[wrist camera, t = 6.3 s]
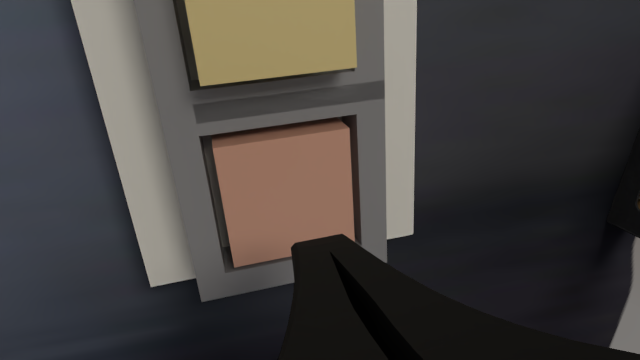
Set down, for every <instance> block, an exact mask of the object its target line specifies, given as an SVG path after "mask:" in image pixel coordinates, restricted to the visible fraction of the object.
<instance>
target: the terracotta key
mask: <svg viewBox="0 0 640 360" xmlns="http://www.w3.org/2000/svg"><path fill="white" fill-rule="evenodd" d="M211 136H212V147H213V153H214V159H215V164H216V170H217V175H218V181H219V186H220V192H221V198H222V203H223V209H224V214H225V220H226V225H227V231H228V236H229V242H230V247H231V253H232V258H233V264H234V268H235V267H240V266H245V265H250V264H255V263H260V262H265V261H270V260H275V259H280V258H285V257H290V256H292V255H291V247H292V246H293V244H294V243H297V242H302V241H307V240H312V239H317V238H322V237H327V236H332V235H338V234H344V235H345V236H347V237H348V238H350V239H351V240H353V241H354V242H355V235H354V214H353V193H352V171H351V150H350V129H349V127H348V126H346V125H345V124H344V123H343V122H342V121H341V120H340V119H339V118H338V117H333V118H326V119H319V120H312V121H305V122H298V123H291V124H284V125H276V126H269V127H262V128H255V129H248V130H241V131H234V132H227V133H220V134H213V135H211Z"/></svg>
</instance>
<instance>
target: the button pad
mask: <svg viewBox="0 0 640 360" xmlns="http://www.w3.org/2000/svg"><path fill="white" fill-rule="evenodd" d="M71 3H72V7H73V10H74V14H75V17H76V21H77V24H78V28H79V32H80V35H81V39H82V42H83V46H84V50H85V53H86V57H87V60H88V64H89V67H90V71H91V75H92V78H93V82H94V85H95V89H96V93H97V96H98V100H99V103H100V107H101V110H102V114H103V118H104V121H105V125H106V128H107V132H108V136H109V139H110V143H111V146H112V150H113V153H114V157H115V161H116V164H117V168H118V171H119V175H120V179H121V182H122V186H123V189H124V193H125V196H126V200H127V204H128V207H129V211H130V214H131V218H132V222H133V225H134V229H135V232H136V236H137V239H138V243H139V247H140V250H141V254H142V257H143V261H144V264H145V268H146V272H147V275H148V279H149V282H150V286H151V287H154V286H159V285H164V284H169V283H174V282H179V281H184V280H189V279H194V278H196V280H197V284H198V288H199V293H200V297H201V302H204V301H209V300H214V299H219V298H223V297H228V296H233V295H237V294H242V293H247V292H251V291H256V290H261V289H265V288H270V287H275V286H280V285H284V284H289V283H294V272H293V263H292V256H290V257H285V258H280V259H275V260H270V261H265V262H260V263H255V264H250V265H245V266H240V267H235V268H234V264H233V258H232V253H231V247H230V242H229V236H228V231H227V225H226V220H225V214H224V209H223V203H222V198H221V192H220V186H219V181H218V175H217V170H216V164H215V159H214V153H213V147H212V136H211V135H213V134H220V133H227V132H234V131H241V130H248V129H255V128H262V127H269V126H276V125H284V124H291V123H298V122H305V121H312V120H319V119H326V118H333V117H338V118H339V119H340V120H341V121H342V122H343V123H344V124H345V125H346V126H348V127H349V129H350V150H351V171H352V193H353V214H354V235H355V243H357V244H358V245H360V246H361V247H363V248H364V249H366V250H367V251H368V252H370V253H371V254H373V255H374V256H376V257H377V258H379V259H380V260H382V261H383V262H385V263H387V239H392V238H397V237H402V236H406V235H411V234H413V220H414V155H415V89H416V24H417V0H355V27H356V53H357V68H349V69H341V70H332V71H324V72H315V73H307V74H299V75H290V76H282V77H274V78H265V79H257V80H249V81H240V82H232V83H224V84H215V85H207V86H200V82H199V77H198V71H197V66H196V60H195V55H194V49H193V44H192V38H191V33H190V27H189V22H188V16H187V11H186V5H185V0H71Z"/></svg>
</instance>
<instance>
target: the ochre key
mask: <svg viewBox="0 0 640 360" xmlns="http://www.w3.org/2000/svg"><path fill="white" fill-rule="evenodd" d="M185 5H186V11H187V16H188V22H189V27H190V33H191V38H192V44H193V49H194V55H195V60H196V66H197V71H198V77H199V82H200V86H207V85H215V84H224V83H232V82H240V81H249V80H257V79H265V78H274V77H282V76H290V75H299V74H307V73H315V72H324V71H332V70H341V69H349V68H357V53H356V27H355V0H185Z"/></svg>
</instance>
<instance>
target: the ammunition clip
mask: <svg viewBox="0 0 640 360" xmlns="http://www.w3.org/2000/svg"><path fill="white" fill-rule="evenodd" d="M607 222H608V223H610V224H612V225H614V226H616V227H618V228H620V229H622V230H624V231H626V232H628V233H630V234H632V235H634V236H636V237H638V238H640V129H639V131H638V134H637V137H636V140H635V142H634V145H633V148H632V151H631V153H630V156H629V159H628V162H627V165H626V167H625V170H624V173H623V176H622V178H621V181H620V184H619V187H618V190H617V192H616V195H615V198H614V201H613V203H612V206H611V209H610V212H609V214H608V217H607Z"/></svg>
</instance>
